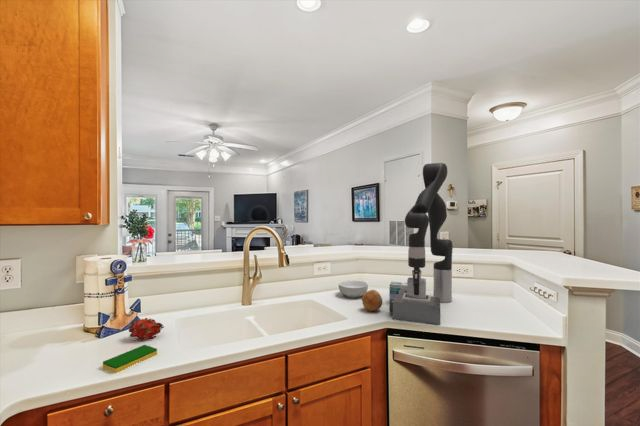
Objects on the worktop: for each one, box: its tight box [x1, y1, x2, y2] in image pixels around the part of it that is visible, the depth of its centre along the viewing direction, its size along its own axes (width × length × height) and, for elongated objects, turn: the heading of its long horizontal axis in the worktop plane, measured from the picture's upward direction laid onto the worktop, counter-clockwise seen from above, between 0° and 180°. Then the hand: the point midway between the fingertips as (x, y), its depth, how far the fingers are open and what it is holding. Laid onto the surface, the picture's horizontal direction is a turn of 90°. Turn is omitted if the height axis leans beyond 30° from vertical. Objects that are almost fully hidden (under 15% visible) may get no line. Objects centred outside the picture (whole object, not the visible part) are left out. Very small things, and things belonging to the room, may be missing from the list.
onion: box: [361, 289, 383, 312], centre depth 150 cm, size 10×10×10 cm
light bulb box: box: [388, 280, 407, 304], centre depth 161 cm, size 11×7×11 cm, turn 68°
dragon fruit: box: [128, 317, 165, 342], centre depth 118 cm, size 8×8×12 cm
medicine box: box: [406, 277, 427, 299], centre depth 141 cm, size 8×4×9 cm, turn 66°
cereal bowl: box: [338, 280, 369, 299], centre depth 176 cm, size 17×17×7 cm
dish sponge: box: [102, 344, 158, 374], centre depth 100 cm, size 7×14×2 cm, turn 153°
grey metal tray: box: [388, 293, 441, 326], centre depth 141 cm, size 14×22×10 cm, turn 70°
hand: (416, 293), depth 141 cm, fingers open, 4 cm apart
